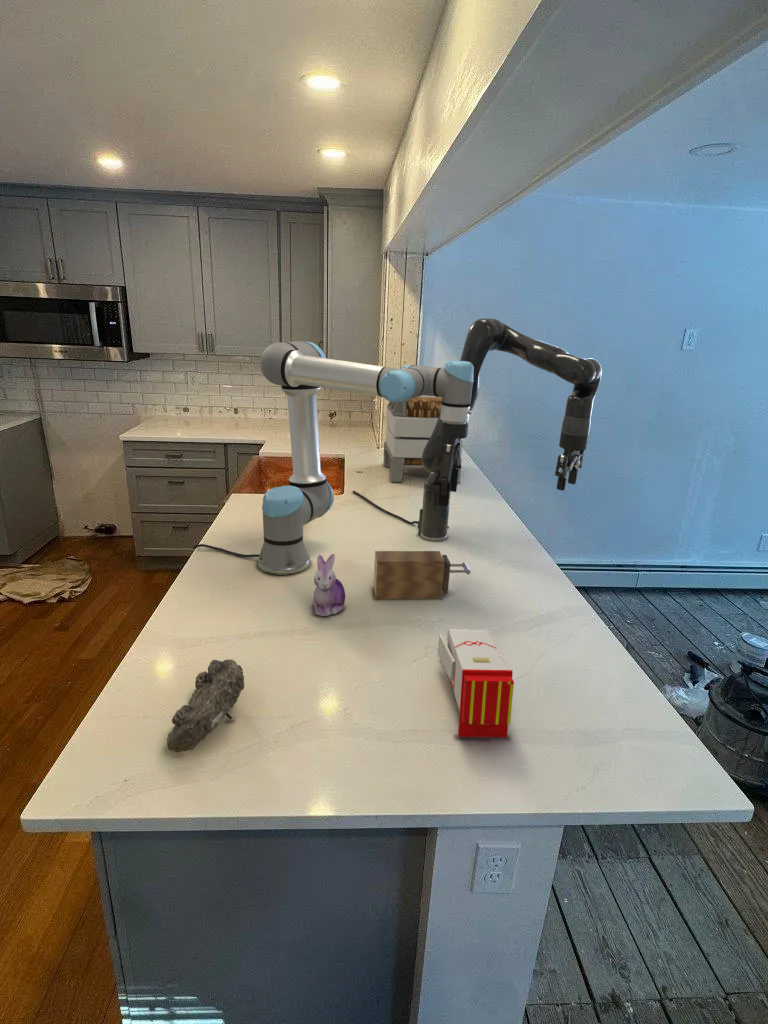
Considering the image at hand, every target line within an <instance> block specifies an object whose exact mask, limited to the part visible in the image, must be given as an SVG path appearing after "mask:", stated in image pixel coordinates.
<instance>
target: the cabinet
mask: <svg viewBox="0 0 768 1024" xmlns="http://www.w3.org/2000/svg"><path fill="white" fill-rule="evenodd" d="M442 555H443V554H442V553H441V551H440V550H375V551H374V564H373V565H374V569H373V593H374V597H375V600H426V599H427V600H430V599H431V600H433V599H434V600H435V599H440V600H441V599H442V594H443V592H442V583H443V572H444V559H443V557H442Z"/></svg>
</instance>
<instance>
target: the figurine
mask: <svg viewBox="0 0 768 1024" xmlns="http://www.w3.org/2000/svg"><path fill="white" fill-rule="evenodd" d="M335 559H336V555H335V554H334V553H331V554H330V555H329V557H328V558H327V559H326V561H325V559H324V557H323V556H322V554H319V555H317V557H316V566H317V570H316V572H315V574H314V577H313V582H314V585H315V586H316V587H315V589H314V591H313V601H314V604H313V609H314V614H315V615H316V616H321V617H328V616H331V615H337V614H338V613H340V612H341V611H342V610H343V609H344V608H345V604H346V603H345V601H346V590H345V586H344V585H343V583H342V581H340V580H339V579H338V578H337V577H336V574H335V572H334V570H333V568H334V563H335Z"/></svg>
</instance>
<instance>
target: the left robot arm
mask: <svg viewBox="0 0 768 1024" xmlns="http://www.w3.org/2000/svg"><path fill="white" fill-rule="evenodd" d="M259 360H260V361H259V366H260V370H261V372H262V375H263V376H264V378H265V379H266V380H267V381H268V382H269V383H271V384H273V385H275V386H276V385H277V386H280V387H281V391H282V392H283V393H284V394H286V396H287V412H288V424H289V436H290V449H291V461H292V462H291V463H292V464H291V465H292V474H291V475H290V477H289V478H288V485H281V486H275V487H272V488H270V489H268V490H267V491H266V492H265V493H264V495H263V497H262V505H261V509H262V526H263V527H262V529H263V543H262V546H261V549H260V553H259V554H257V553H256V554H255V553H254V554H253V553H251V554H244V553H238V552H234V551H231V550H227V549H225V548H223V547H222V548H221V547H217V546H213V545H209V544H205V543H199V544H196V545H194V546H193V547H192V549H193V550H196V549H197V548H201V547H202V548H207V549H212V550H216V551H220V552H223V553H226V554H229V555H233V556H237V557H240V558H241V557H242V558H258V559H257V562H258V563H257V564H258V569H260V570H261V571H262V572H263V573H266V574H270V575H274V576H275V575H276V576H288V575H295V574H298V573H299V574H300V573H302V572H304V571H305V570H307V569H308V568H309V566H310V556H309V553H308V550H307V547H306V544H305V542H304V525H307V524H309V523H311V522H312V521H315V520H316V519H319V518H321V517H323V516H324V515H325V514H327V513H328V512H329V511H330V510H331V508H332V506H333V505H334V501H335V495H334V489H333V488H332V486H331V485H330V483H329V482H328V480H327V476H326V475H325V474H324V473H323V472H322V467H321V451H320V432H319V419H318V418H319V417H318V401H317V400H318V399H317V394H318V393H319V391H320V390H321V389H329V390H334V391H342V392H347V393H354V394H359V395H367V396H373V397H379V398H382V399H385V400H386V401H387V402H389V401H390V402H404V401H406V400H408V399H411V398H415V397H423V396H424V397H442V404H441V415H440V419H441V420H442V421H441V422H440V430H439V434H440V436H442V437H446V438H447V442H446V444H444V450H443V457H442V464H441V470H440V477H439V479H437V482H440V487H439V499H438V505H440V506H447V507H448V506H449V507H450V505H449V495H450V496H451V493H457V490H458V483H457V480H458V469H461V470H462V464H461V465H460V446H461V443H460V441H461V440H463V439H466V438H467V437H468V435H469V423H468V422H469V421H470V416H469V414H470V415H472V414H473V410H472V411H471V410H469V409H470V404H471V395H472V386H473V381H474V380H473V371H474V366H473V364H472V363H470V362H467V361H460V360H446V361H445V362H444V366H443V367H436V366H428V365H419V364H405V365H403V366H402V367H401V368H397V367H390V366H389V367H388V366H381V365H374V364H368V363H361V362H355V361H348V360H347V361H346V360H339V359H334V358H333V359H332V358H327V357H326V355H325V353H324V351H323V350H322V349H321V347H319V346H318V344H317V343H314V342H311V341H306V340H297V341H295V340H294V341H285V342H284V341H280V342H274V343H272V344H270V345H269V346H267V347H266V348H265V349H264V350H263V352H262V353H261V357H260V359H259ZM443 477H447V478H443ZM450 491H451V493H450Z"/></svg>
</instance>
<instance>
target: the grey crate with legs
mask: <svg viewBox="0 0 768 1024" xmlns="http://www.w3.org/2000/svg"><path fill="white" fill-rule="evenodd" d="M441 404H442V397H436V396H419V397H415V398H411V399H408V400H406V401H404V402H390V401H388V404H387V405H386V413H385V414H386V415H385V423H386V428H385V438H384V442H383V466H384V467H388V468H389V475H388V476H389V477H388V478H389V480H390V482H391V483H402V482H403V475H404V469H405V466H406V467H407V466H411V467H412V466H413V467H415V466H416V467H417V466H418V467H423V464H422V453H423V451H424V448H425V446H426V444H427V443H428V441H429V439H430V437H431V435H432V433H433V430H434V428H435V426H436V423H437V420H438V418H439V415H440V412H441ZM463 442H464V441H463V439H461V441H460V443H461V446H460V465H461V466H462V461H463V460H462V453H463ZM461 472H462V468H461V469H458V480H457V484H459V483H461Z"/></svg>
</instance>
